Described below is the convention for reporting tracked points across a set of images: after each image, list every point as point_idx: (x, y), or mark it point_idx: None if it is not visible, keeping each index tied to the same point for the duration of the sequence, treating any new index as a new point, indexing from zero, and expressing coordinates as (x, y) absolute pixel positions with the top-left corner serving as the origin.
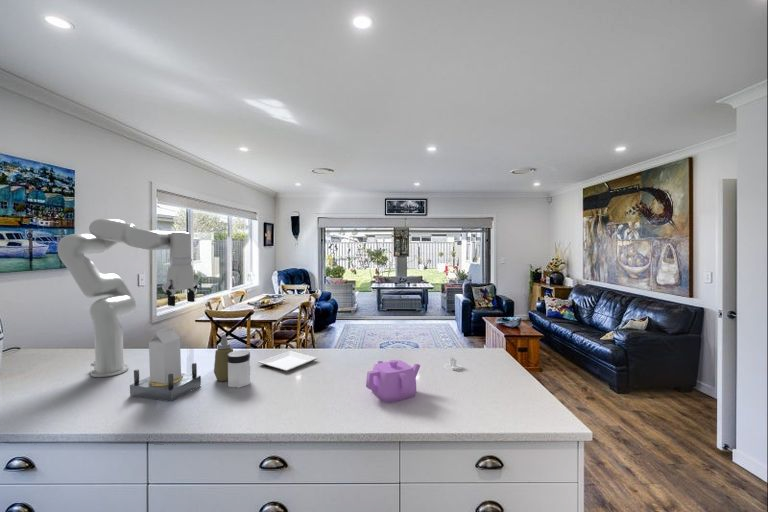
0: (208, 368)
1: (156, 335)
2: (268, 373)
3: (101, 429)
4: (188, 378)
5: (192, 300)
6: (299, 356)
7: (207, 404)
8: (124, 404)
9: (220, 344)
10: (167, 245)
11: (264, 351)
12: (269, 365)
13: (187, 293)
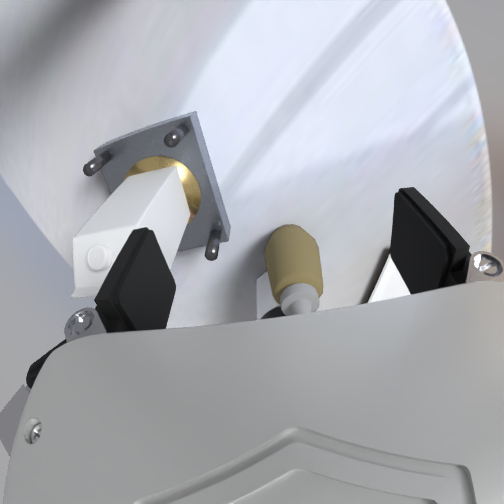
0: (329, 141)
1: (81, 279)
2: (350, 291)
3: (51, 240)
4: (199, 231)
5: (395, 257)
6: None
7: (185, 300)
8: (87, 177)
9: (287, 305)
10: None
11: (475, 186)
12: (377, 282)
13: (438, 247)
